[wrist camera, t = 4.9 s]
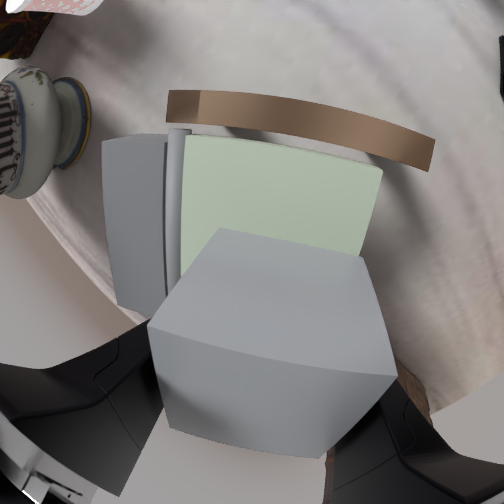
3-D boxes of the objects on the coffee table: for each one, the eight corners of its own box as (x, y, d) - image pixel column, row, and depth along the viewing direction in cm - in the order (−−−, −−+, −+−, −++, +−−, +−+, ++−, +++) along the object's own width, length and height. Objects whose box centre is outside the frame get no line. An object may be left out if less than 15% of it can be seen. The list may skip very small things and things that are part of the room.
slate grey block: (362, 257, 9) (398, 376, 4) (322, 354, 11) (318, 458, 7) (219, 226, 9) (146, 325, 5) (211, 331, 12) (169, 427, 7)
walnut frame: (384, 131, 16) (435, 139, 9) (330, 315, 23) (334, 387, 16) (221, 100, 17) (169, 90, 10) (206, 288, 24) (171, 352, 17)
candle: (74, -13, 11) (8, -27, 3) (29, 60, 16) (-37, 67, 7) (46, -24, 9) (-8, -31, 1) (9, 38, 14) (-45, 43, 5)
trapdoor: (360, 152, 14) (384, 165, 9) (311, 321, 19) (310, 374, 15) (141, 123, 15) (89, 130, 11) (145, 282, 21) (112, 321, 16)
